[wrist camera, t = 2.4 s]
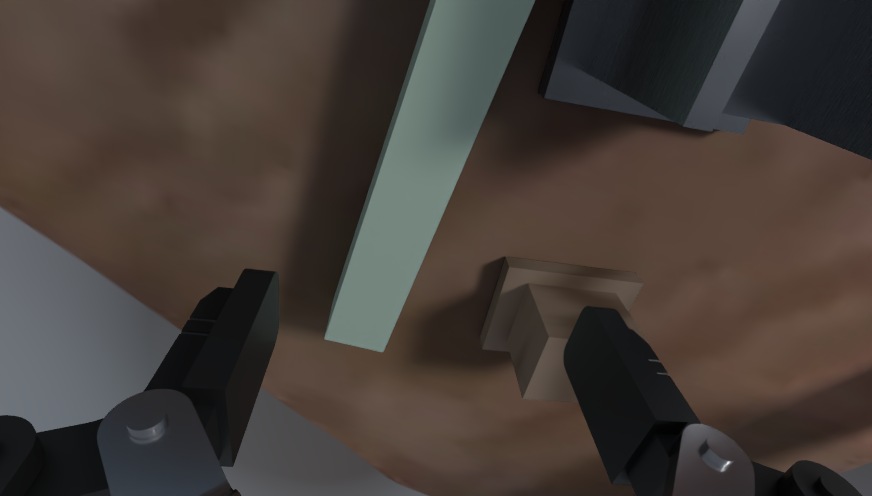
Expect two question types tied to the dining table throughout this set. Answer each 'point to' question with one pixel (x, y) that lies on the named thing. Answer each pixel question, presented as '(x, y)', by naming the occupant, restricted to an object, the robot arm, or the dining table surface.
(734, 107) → the cup bracket
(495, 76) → the green rail
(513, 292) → the post
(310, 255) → the dining table surface
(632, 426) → the robot arm
